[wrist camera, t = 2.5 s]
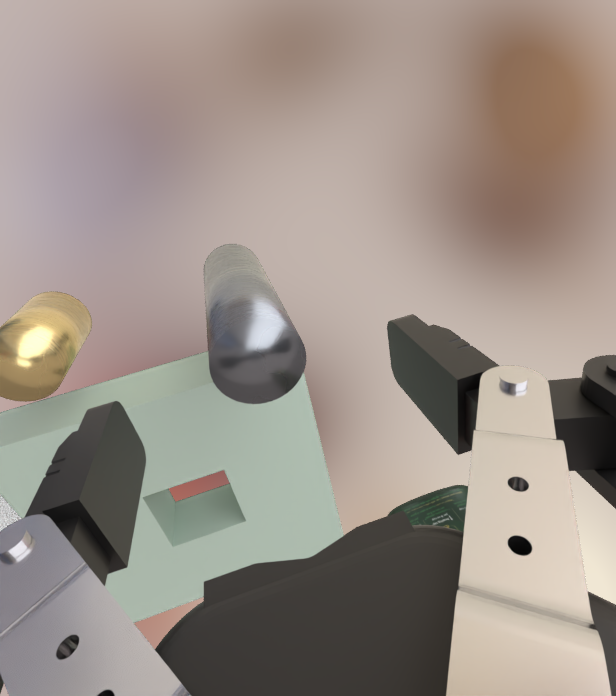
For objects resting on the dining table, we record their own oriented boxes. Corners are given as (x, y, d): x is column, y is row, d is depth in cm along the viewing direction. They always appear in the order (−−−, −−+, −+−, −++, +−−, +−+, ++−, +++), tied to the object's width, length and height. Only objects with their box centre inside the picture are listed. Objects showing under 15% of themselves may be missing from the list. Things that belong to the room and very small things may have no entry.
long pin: (195, 252, 20) (194, 335, 11) (253, 237, 20) (295, 306, 12) (214, 306, 21) (226, 415, 13) (267, 290, 22) (314, 387, 13)
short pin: (10, 301, 19) (-46, 348, 14) (74, 284, 19) (38, 324, 15) (43, 354, 20) (1, 410, 16) (102, 337, 21) (77, 388, 16)
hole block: (0, 412, 21) (-33, 457, 18) (286, 328, 23) (299, 355, 20) (126, 578, 29) (118, 628, 26) (331, 505, 31) (345, 543, 28)
